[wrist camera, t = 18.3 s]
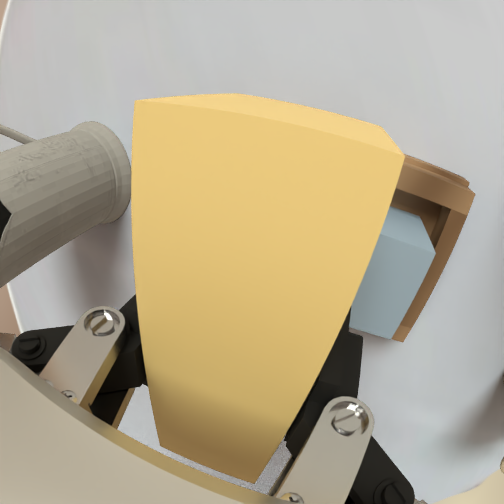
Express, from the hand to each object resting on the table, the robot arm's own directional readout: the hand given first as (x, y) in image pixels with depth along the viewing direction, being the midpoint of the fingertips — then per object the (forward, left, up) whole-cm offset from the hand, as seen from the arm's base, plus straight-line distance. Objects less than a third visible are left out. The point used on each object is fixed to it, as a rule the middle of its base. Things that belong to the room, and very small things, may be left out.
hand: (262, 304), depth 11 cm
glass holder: (+19, 0, -10) cm, 22 cm away
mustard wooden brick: (0, 0, 0) cm, 1 cm away
